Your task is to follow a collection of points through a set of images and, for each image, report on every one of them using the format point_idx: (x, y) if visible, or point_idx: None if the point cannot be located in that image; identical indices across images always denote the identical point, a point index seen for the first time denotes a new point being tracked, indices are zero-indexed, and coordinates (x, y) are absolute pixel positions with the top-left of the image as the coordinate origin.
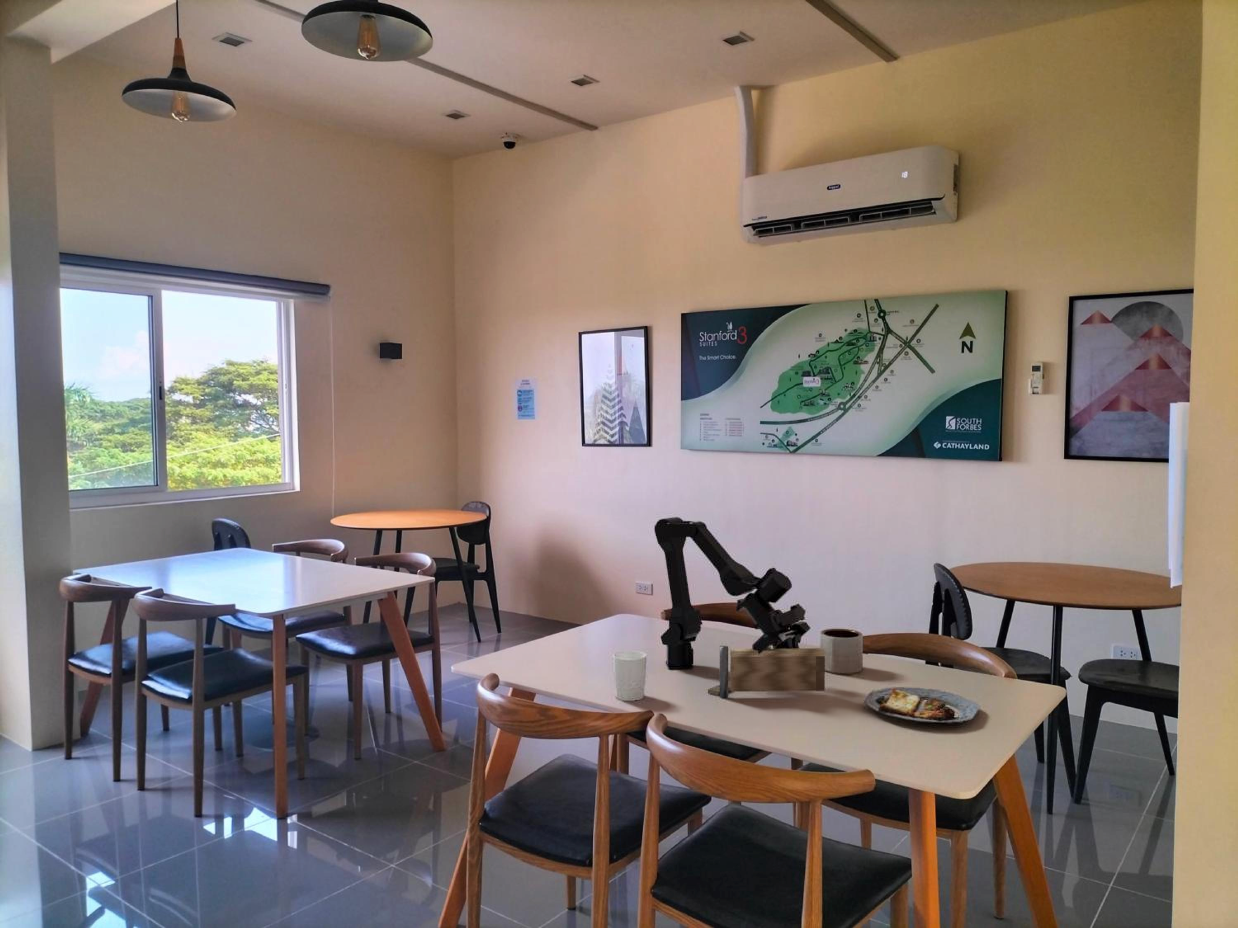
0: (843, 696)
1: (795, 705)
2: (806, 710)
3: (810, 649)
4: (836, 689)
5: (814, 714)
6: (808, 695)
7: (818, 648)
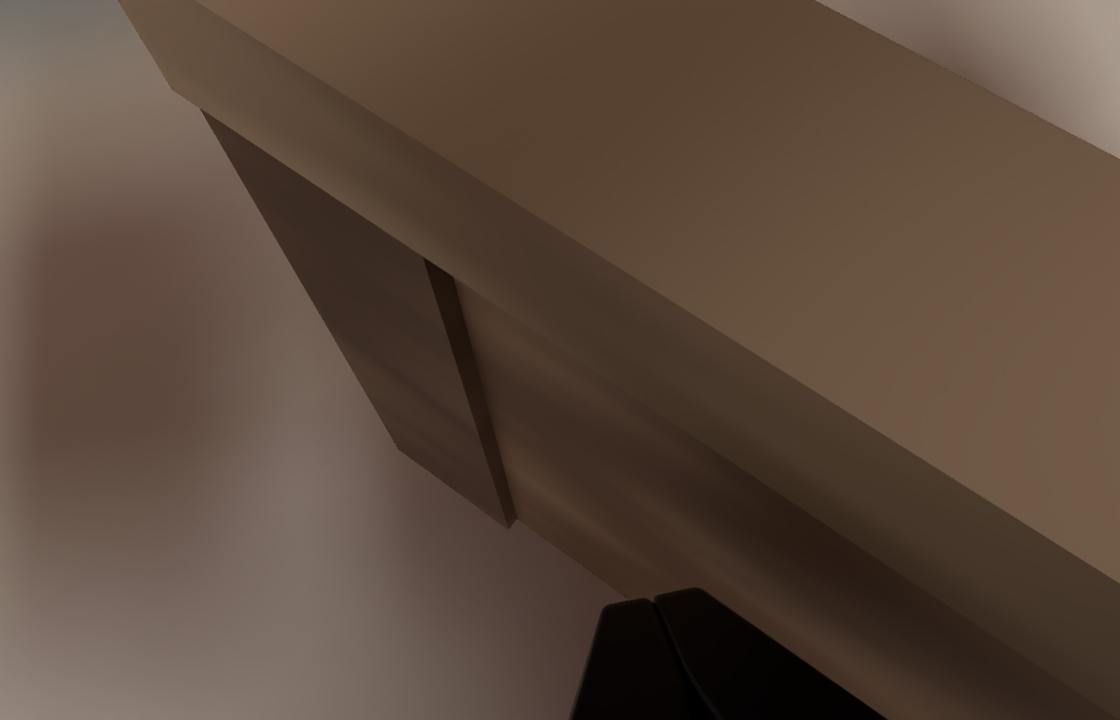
0: (248, 279)
1: None
2: None
3: (681, 90)
4: (22, 534)
5: (1090, 73)
6: (593, 603)
7: (241, 8)
